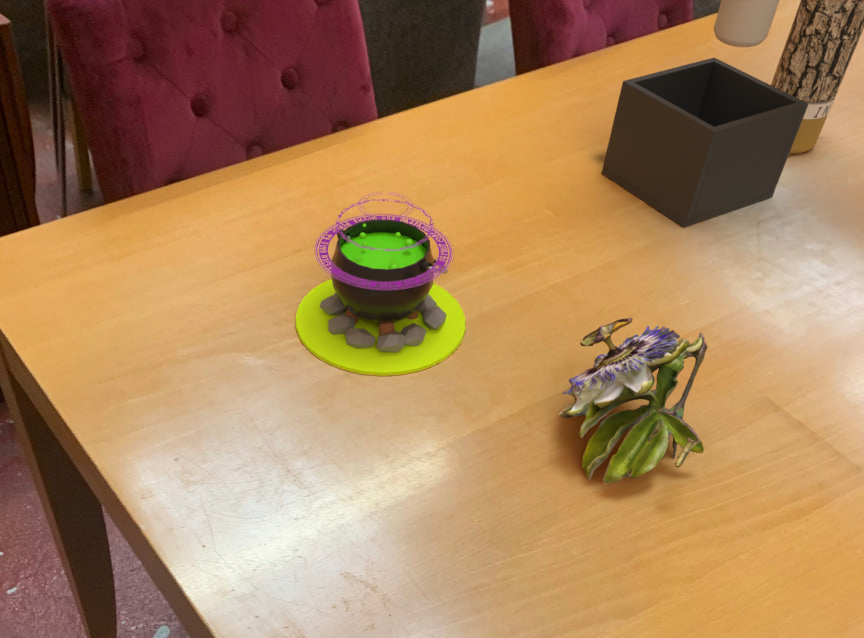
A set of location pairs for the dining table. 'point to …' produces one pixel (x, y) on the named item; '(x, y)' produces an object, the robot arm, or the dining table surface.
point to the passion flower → (631, 380)
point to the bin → (701, 139)
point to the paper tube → (818, 60)
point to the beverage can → (744, 21)
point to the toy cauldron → (381, 299)
